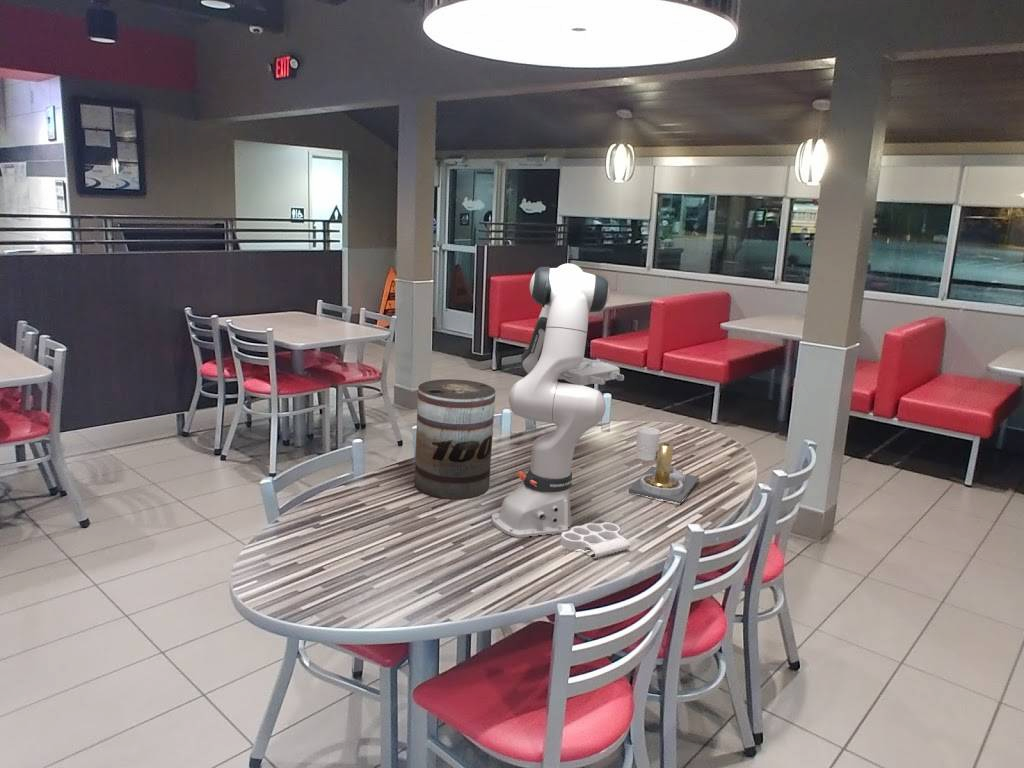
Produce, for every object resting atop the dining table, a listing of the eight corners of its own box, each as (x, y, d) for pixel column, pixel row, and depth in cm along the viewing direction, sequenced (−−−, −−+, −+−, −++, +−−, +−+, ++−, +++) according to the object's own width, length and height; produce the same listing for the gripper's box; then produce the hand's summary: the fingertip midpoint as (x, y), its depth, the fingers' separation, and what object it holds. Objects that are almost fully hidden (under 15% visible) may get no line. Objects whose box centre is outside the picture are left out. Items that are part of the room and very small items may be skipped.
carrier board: (679, 505, 225) (682, 488, 223) (628, 493, 231) (630, 476, 230) (698, 481, 246) (700, 465, 244) (651, 470, 252) (653, 455, 251)
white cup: (631, 458, 263) (634, 430, 261) (638, 452, 270) (641, 425, 268) (653, 463, 260) (656, 435, 257) (659, 457, 267) (663, 430, 264)
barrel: (465, 506, 213) (471, 404, 206) (399, 487, 223) (402, 389, 215) (502, 482, 233) (508, 388, 225) (440, 466, 242) (444, 375, 235)
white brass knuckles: (584, 565, 185) (549, 540, 197) (638, 550, 195) (601, 527, 207) (586, 552, 184) (550, 528, 196) (640, 538, 194) (603, 516, 206)
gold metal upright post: (659, 494, 228) (665, 450, 225) (641, 484, 235) (646, 441, 232) (680, 490, 233) (686, 447, 229) (661, 480, 240) (667, 438, 236)
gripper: (559, 364, 238) (593, 374, 228) (599, 358, 252) (633, 366, 243) (557, 384, 239) (591, 394, 230) (597, 376, 254) (631, 385, 244)
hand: (613, 380), depth 236 cm, fingers open, 8 cm apart
